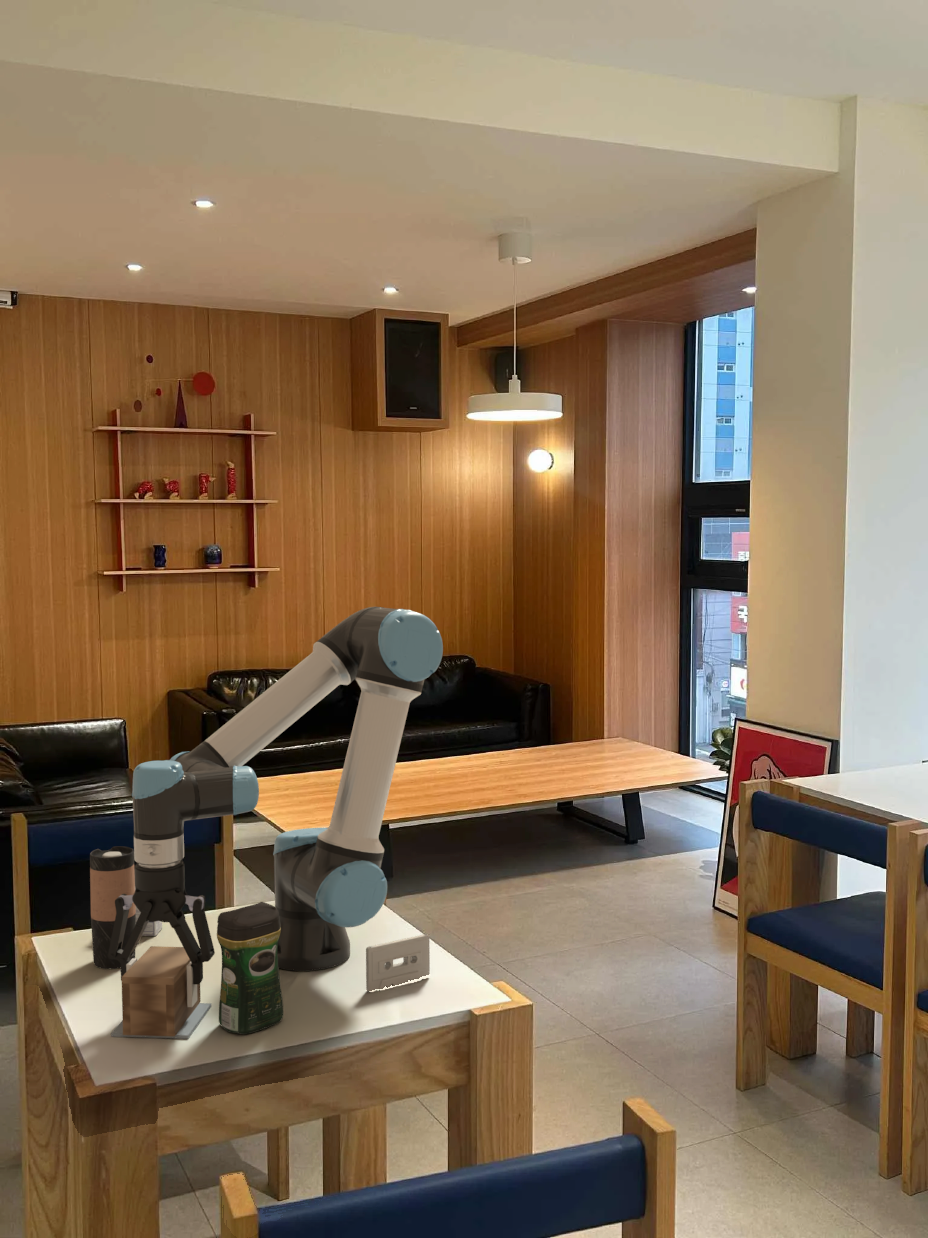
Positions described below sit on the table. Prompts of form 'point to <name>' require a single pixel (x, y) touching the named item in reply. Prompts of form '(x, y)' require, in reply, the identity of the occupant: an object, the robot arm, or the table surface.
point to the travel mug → (110, 899)
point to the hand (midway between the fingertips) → (162, 1002)
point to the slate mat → (185, 1029)
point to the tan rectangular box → (157, 993)
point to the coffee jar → (249, 968)
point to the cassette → (411, 968)
